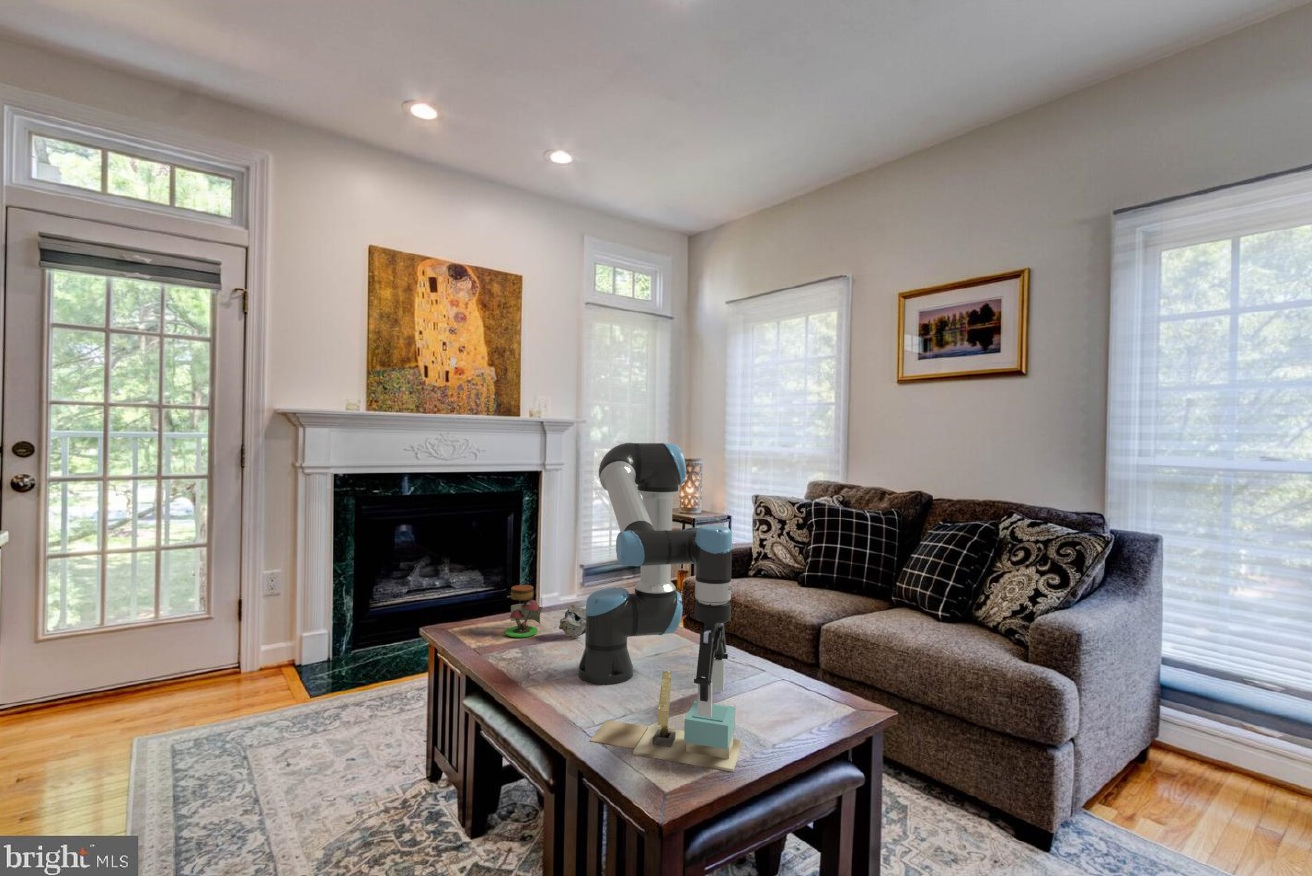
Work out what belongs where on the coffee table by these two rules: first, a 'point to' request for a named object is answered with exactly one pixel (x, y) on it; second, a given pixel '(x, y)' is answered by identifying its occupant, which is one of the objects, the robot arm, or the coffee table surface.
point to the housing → (687, 750)
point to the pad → (619, 734)
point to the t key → (664, 703)
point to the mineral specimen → (574, 621)
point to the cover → (710, 726)
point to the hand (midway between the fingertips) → (711, 702)
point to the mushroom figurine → (523, 612)
